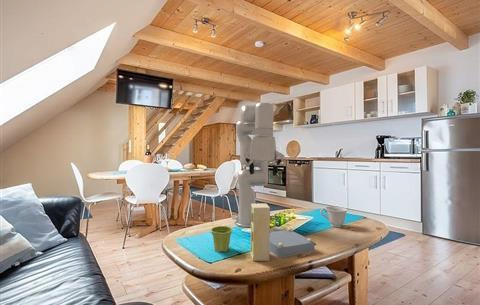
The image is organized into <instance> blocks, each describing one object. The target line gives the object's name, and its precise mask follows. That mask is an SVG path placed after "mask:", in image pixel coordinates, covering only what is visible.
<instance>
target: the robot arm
mask: <svg viewBox="0 0 480 305" xmlns="http://www.w3.org/2000/svg"><path fill="white" fill-rule="evenodd" d="M274 110H275V106H274V104H273V103H271V102H258V103H257V104H256V105H255V104H254V105H246V104H245V105H242V106H241V107H240V111H239V117H240V118H239V119H240V120H239V121H237V122H236V126H235V128H236V135H237V138H238V142H239V151H240V152H239V157H240V158H239V160H240V161H239V162H240V165H241V166H242V167H244V169H241V170H240V171H238V174H237V181H238V215H236V214H232V216H231V218H232V220H236V221H235V225H236V226H238V227H243V228H251V227H250V226H251V204H256V192H255V191H254V189H253V188H252V187H265V186H267V184H268V183H269V162H272V164H273V166H272V176H273V177H274V176H277V174H278V173H279V172H278V171H279V170H278V167H279V165H280V164H281V163H282V162H283V161H284V158H285V154H283V153H282V152H279V151H278V150H277V144H276V137H275V136H274V115H275V114H274ZM251 136H252V137H251ZM277 156H278V157H279V158H278V160H277ZM245 168H247V169H245ZM255 168H258V169H255Z"/></svg>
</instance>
